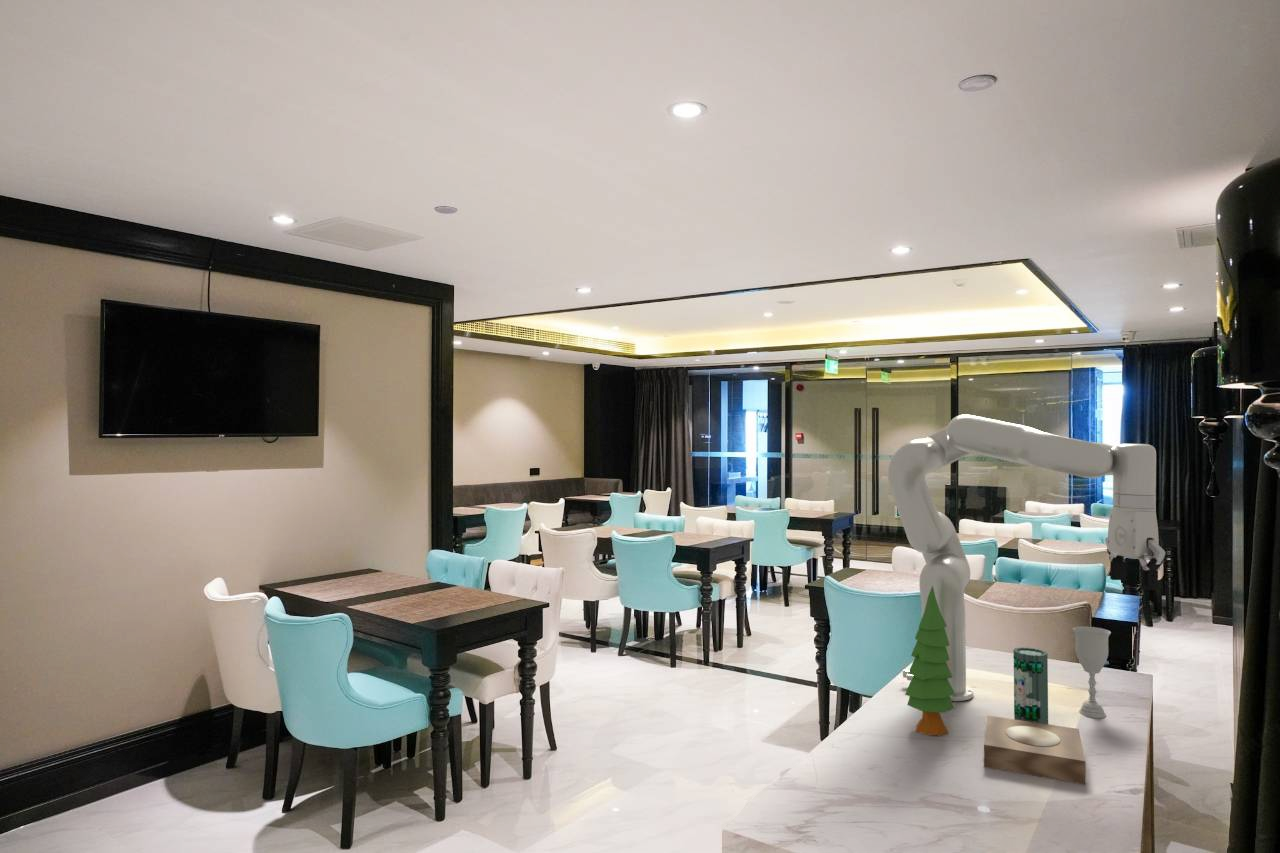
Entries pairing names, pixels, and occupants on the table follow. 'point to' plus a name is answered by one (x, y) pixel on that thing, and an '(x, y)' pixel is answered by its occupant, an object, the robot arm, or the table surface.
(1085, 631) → the chalice
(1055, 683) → the table surface
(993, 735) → the walnut base
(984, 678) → the table surface
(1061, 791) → the table surface
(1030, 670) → the can
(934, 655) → the decorative tree
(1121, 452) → the robot arm
